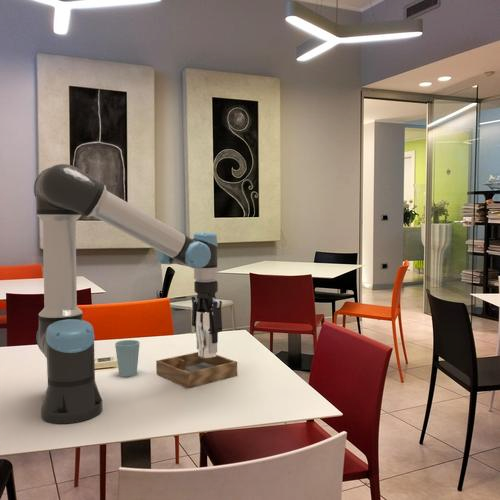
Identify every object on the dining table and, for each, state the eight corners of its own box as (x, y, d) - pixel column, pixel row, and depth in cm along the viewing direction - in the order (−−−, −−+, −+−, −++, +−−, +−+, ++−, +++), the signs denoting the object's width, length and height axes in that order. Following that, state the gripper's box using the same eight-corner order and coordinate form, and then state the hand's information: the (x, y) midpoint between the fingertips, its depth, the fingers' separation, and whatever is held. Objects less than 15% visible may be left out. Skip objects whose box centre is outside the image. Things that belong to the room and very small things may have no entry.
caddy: (187, 388, 153) (187, 373, 153) (156, 374, 167) (156, 360, 166) (237, 375, 165) (237, 361, 165) (204, 363, 179) (204, 350, 179)
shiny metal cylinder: (220, 357, 166) (220, 311, 165) (199, 360, 164) (199, 313, 163) (214, 352, 173) (213, 308, 172) (193, 354, 170) (193, 309, 169)
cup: (142, 376, 165) (141, 344, 164) (118, 379, 162) (117, 346, 161) (137, 369, 172) (136, 338, 171) (114, 372, 169) (113, 341, 168)
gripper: (233, 282, 162) (234, 354, 163) (198, 276, 176) (199, 343, 178) (214, 284, 157) (215, 359, 158) (179, 278, 171) (181, 346, 173)
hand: (206, 350), depth 168 cm, fingers closed on shiny metal cylinder, 6 cm apart
